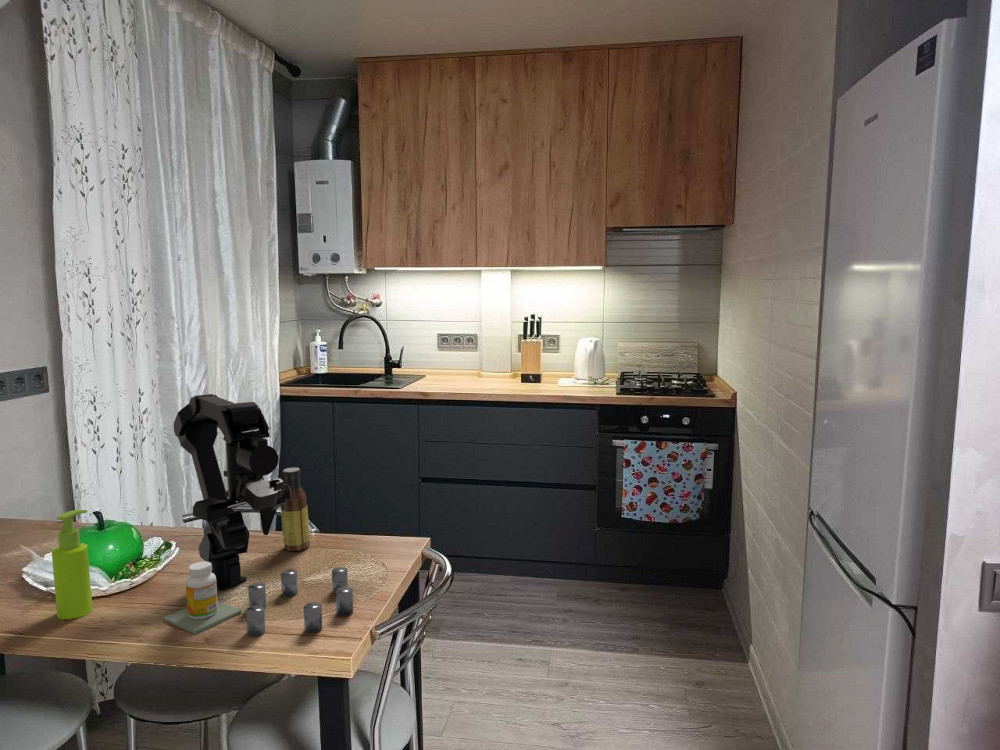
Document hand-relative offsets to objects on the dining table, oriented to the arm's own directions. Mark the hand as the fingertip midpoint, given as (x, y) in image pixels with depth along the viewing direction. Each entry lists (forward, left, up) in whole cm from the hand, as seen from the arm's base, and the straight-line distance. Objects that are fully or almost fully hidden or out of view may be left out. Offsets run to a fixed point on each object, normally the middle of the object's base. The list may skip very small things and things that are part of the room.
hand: (246, 541), depth 136 cm
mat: (-2, -9, -13) cm, 16 cm away
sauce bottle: (-15, +25, -13) cm, 32 cm away
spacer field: (+12, +3, -13) cm, 18 cm away
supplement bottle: (-2, -9, -12) cm, 15 cm away
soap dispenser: (-25, -21, -13) cm, 35 cm away
